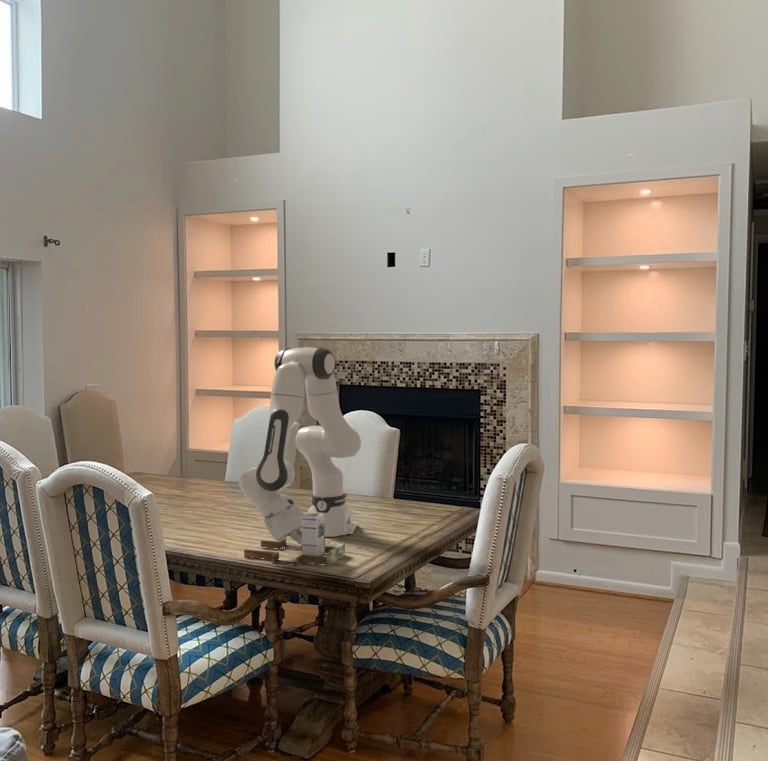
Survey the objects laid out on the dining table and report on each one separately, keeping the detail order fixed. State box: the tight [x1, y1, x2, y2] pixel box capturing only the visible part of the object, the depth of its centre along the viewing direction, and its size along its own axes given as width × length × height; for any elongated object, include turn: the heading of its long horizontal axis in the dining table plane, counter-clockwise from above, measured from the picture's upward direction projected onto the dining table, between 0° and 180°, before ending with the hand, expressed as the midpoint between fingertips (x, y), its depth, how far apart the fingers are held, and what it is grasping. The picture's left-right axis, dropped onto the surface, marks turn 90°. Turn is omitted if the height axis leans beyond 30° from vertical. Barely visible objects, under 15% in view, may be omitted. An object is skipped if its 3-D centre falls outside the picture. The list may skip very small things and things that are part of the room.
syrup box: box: [301, 512, 326, 557], centre depth 263 cm, size 6×6×14 cm
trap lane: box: [243, 537, 346, 566], centre depth 266 cm, size 20×30×4 cm
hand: (303, 542), depth 264 cm, fingers closed
